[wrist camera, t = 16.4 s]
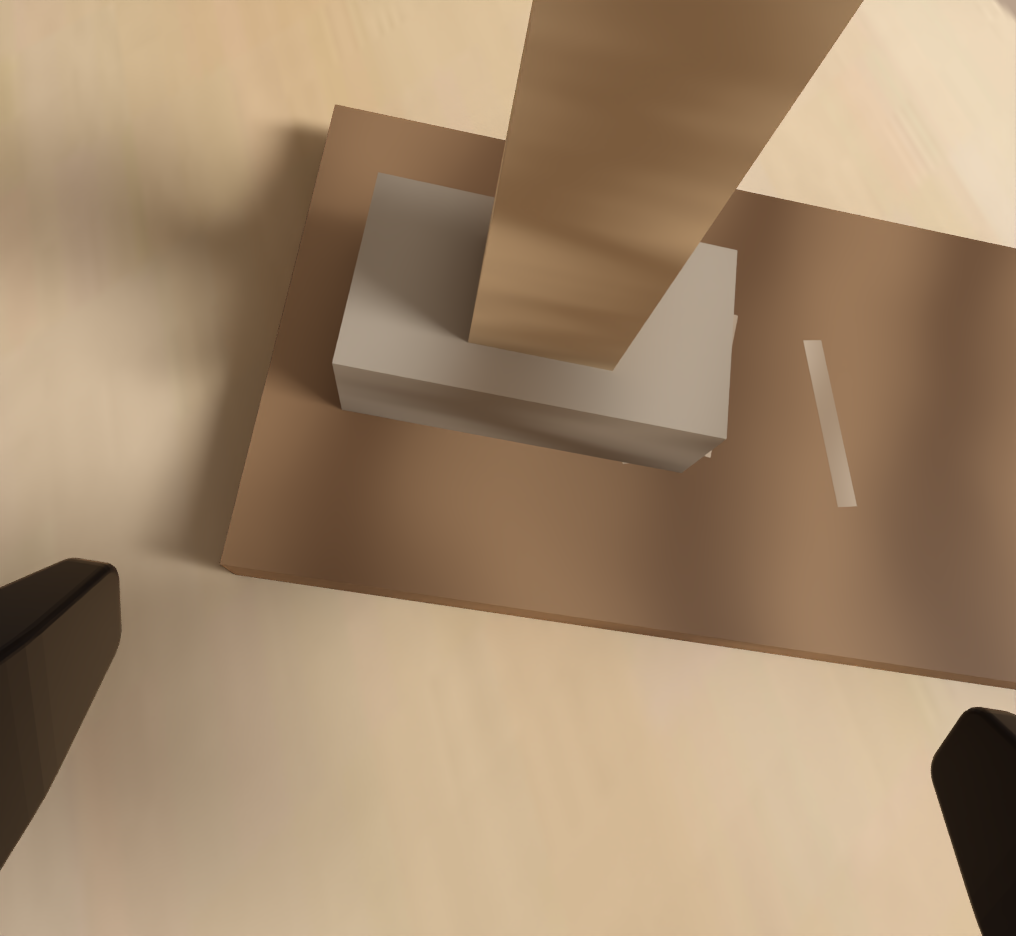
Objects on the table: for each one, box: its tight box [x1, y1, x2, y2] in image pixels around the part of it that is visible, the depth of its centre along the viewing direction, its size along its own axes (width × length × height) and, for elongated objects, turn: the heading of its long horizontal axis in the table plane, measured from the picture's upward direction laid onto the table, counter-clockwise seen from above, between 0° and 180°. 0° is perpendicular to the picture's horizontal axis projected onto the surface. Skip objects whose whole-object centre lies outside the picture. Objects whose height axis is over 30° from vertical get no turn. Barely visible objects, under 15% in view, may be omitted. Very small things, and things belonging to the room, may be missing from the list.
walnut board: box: [220, 105, 1016, 690], centre depth 19 cm, size 22×12×2 cm, turn 82°
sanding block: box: [332, 0, 863, 473], centre depth 12 cm, size 8×4×11 cm, turn 81°
